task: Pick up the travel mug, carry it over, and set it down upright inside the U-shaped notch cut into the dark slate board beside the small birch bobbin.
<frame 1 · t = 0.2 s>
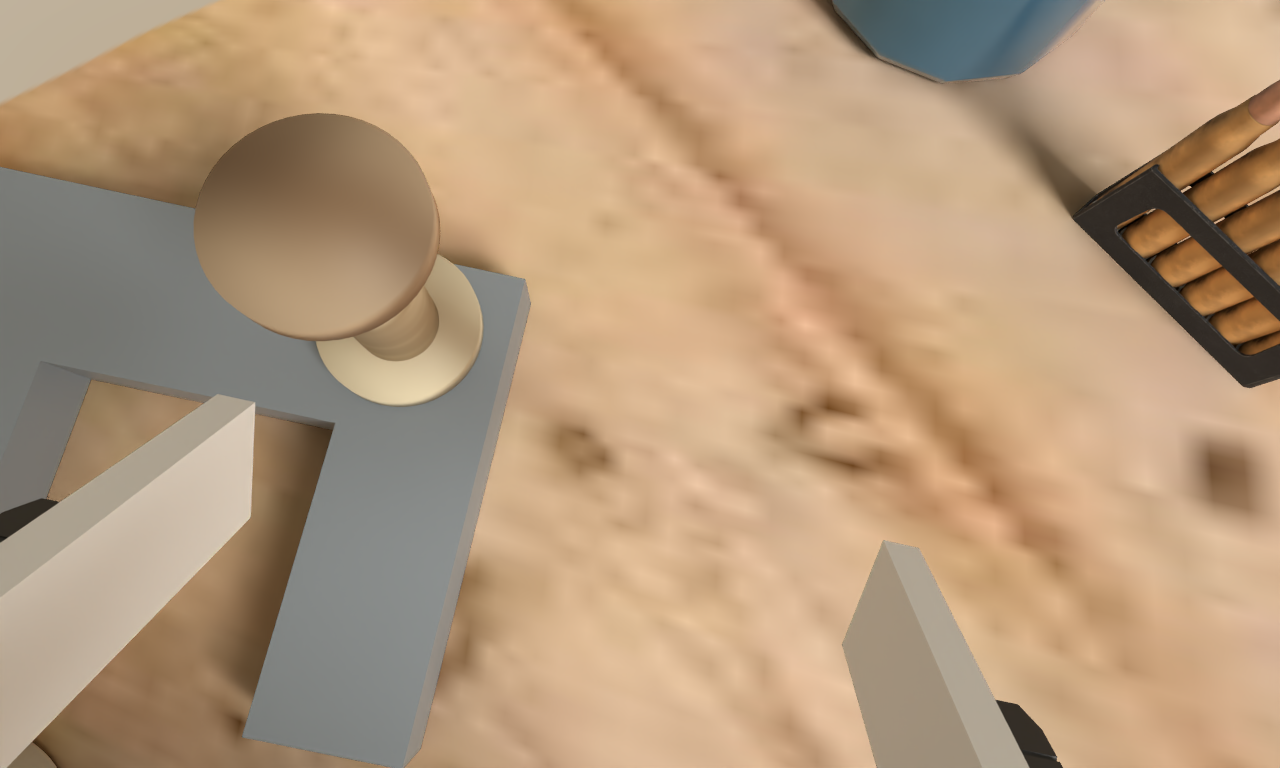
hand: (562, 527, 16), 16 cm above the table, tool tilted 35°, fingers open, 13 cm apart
ammunition clip: (1166, 291, 36), on the table
notched board: (209, 455, 31), on the table
birch bobbin: (404, 329, 30), resting on notched board
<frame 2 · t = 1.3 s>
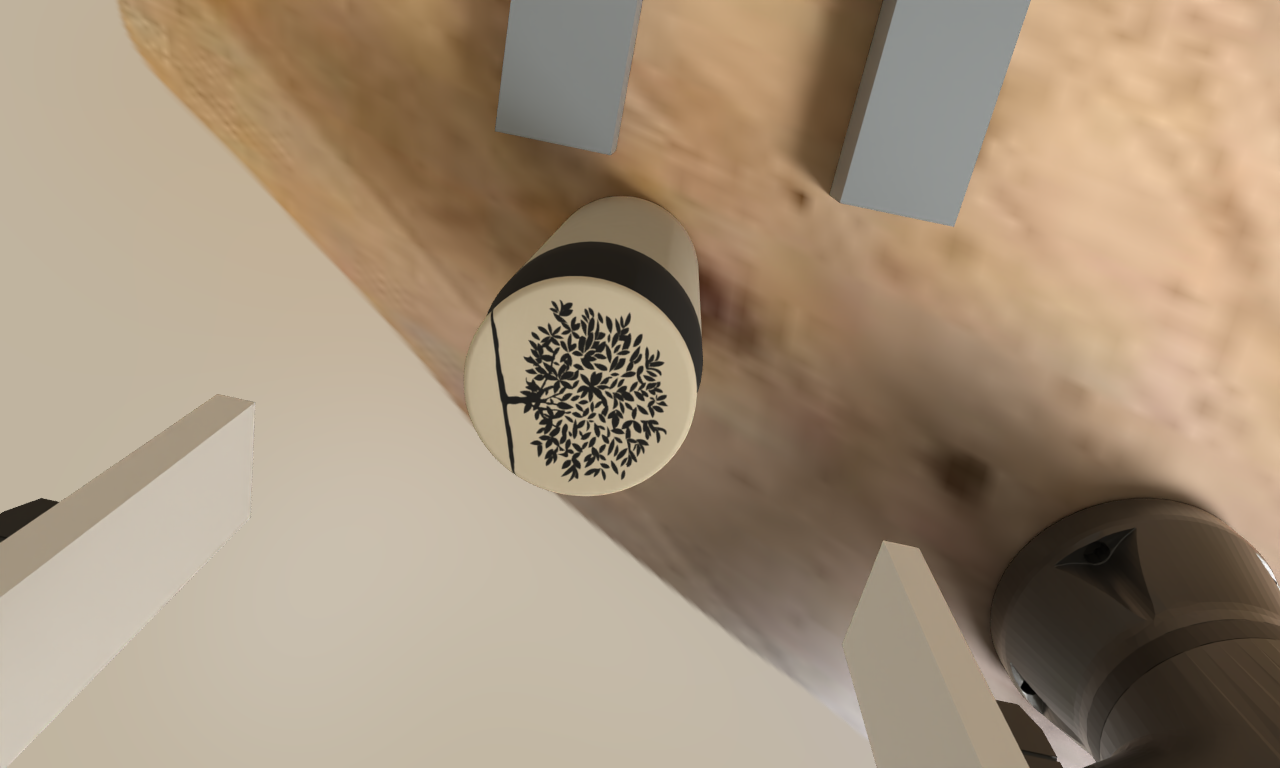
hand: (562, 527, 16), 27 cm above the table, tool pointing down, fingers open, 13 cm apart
travel mug: (623, 270, 42), on the table
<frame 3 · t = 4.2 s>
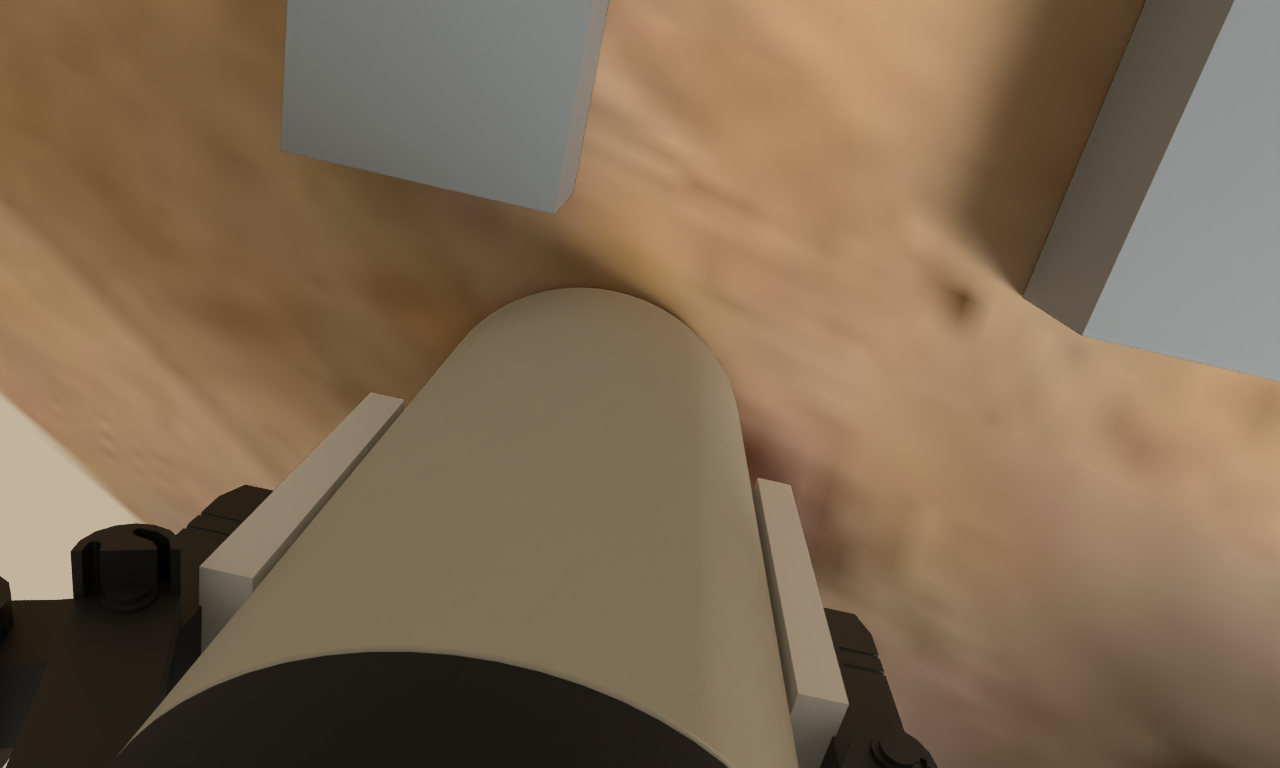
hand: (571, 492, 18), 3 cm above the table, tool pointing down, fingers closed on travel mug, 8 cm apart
travel mug: (587, 428, 21), on the table, touching gripper
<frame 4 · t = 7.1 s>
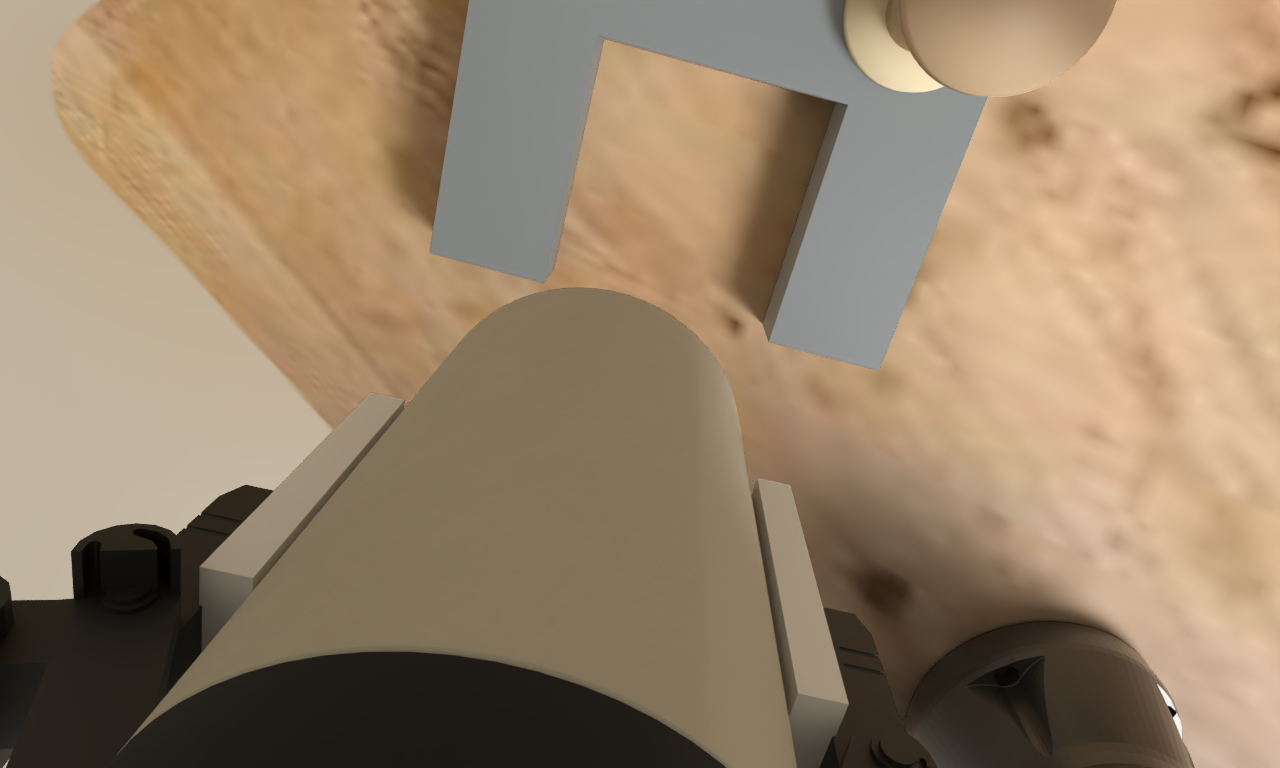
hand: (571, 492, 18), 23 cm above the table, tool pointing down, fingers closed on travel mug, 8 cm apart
travel mug: (587, 428, 21), point 20 cm above the table, touching gripper
notched board: (708, 115, 37), on the table
birch bobbin: (917, 13, 32), resting on notched board
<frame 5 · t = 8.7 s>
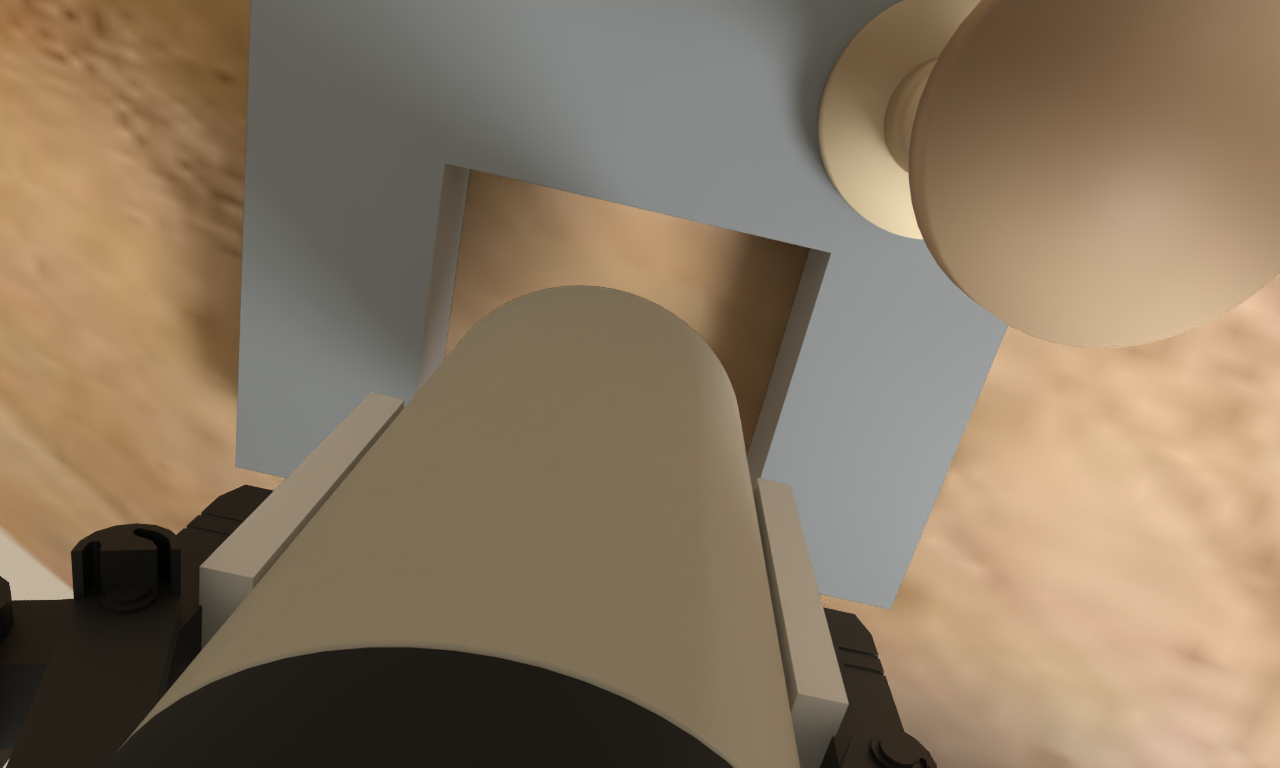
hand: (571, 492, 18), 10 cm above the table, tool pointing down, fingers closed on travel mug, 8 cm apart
travel mug: (588, 426, 21), point 6 cm above the table, touching gripper
notched board: (631, 255, 25), on the table
birch bobbin: (933, 118, 21), resting on notched board
when the fingers open (5 cm above the table, at t = 10.1 s): travel mug drops 2 cm, on the table.
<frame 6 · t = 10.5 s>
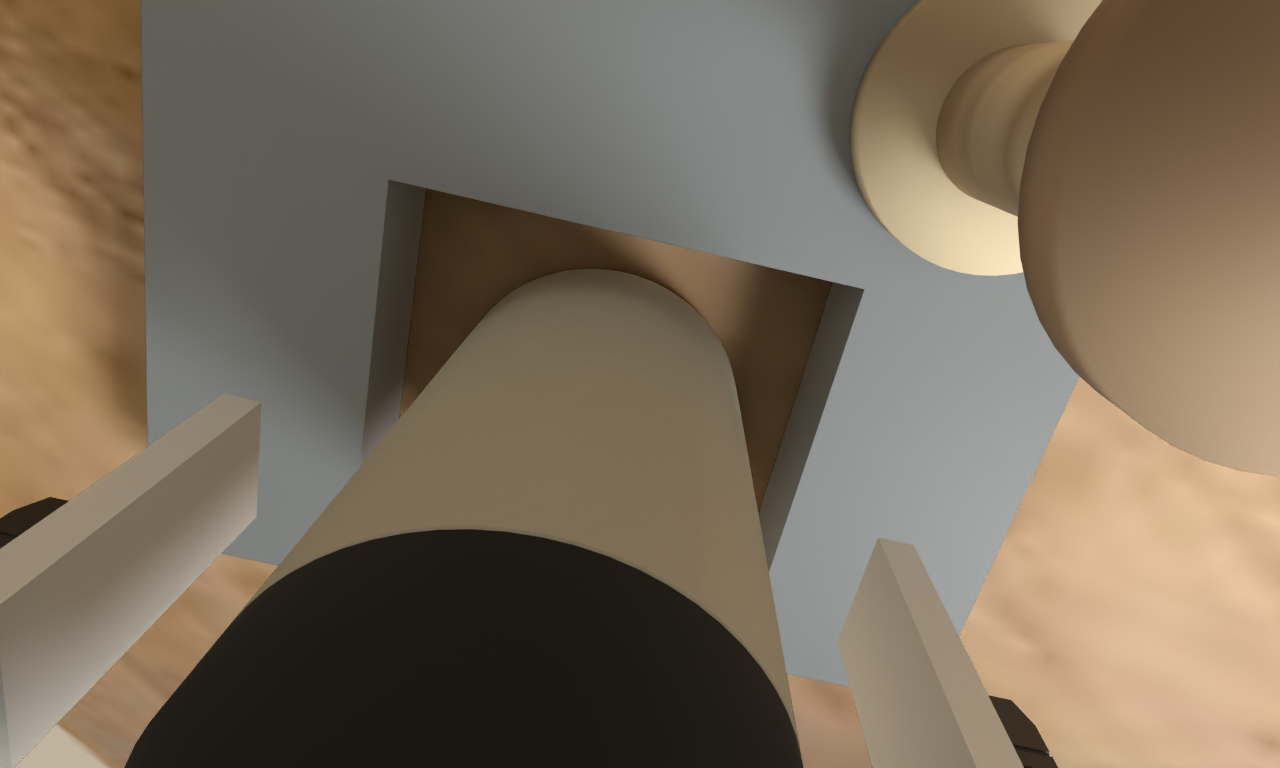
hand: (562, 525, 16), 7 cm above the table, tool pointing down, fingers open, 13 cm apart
travel mug: (597, 399, 23), on the table
notched board: (620, 286, 21), on the table
birch bobbin: (994, 124, 16), resting on notched board
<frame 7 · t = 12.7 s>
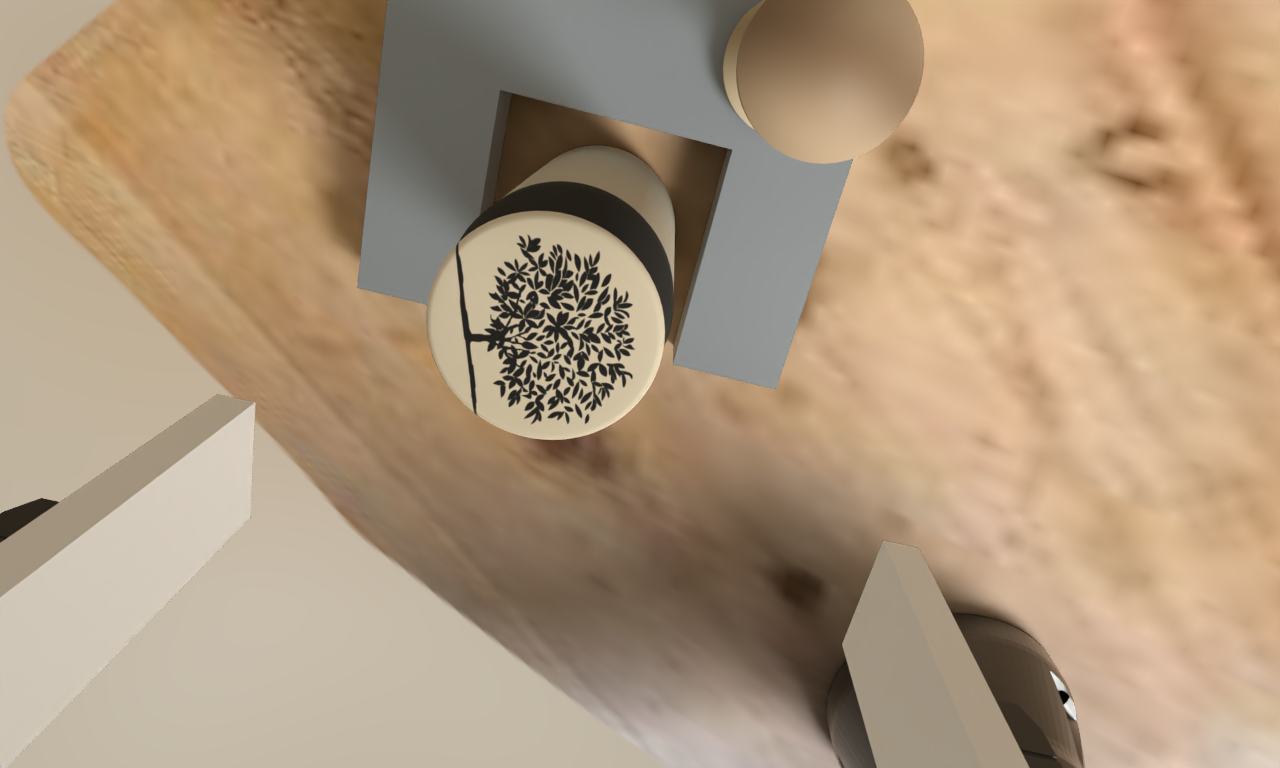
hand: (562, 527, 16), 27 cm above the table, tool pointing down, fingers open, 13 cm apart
travel mug: (599, 223, 41), on the table
notched board: (612, 156, 40), on the table
birch bobbin: (790, 67, 35), resting on notched board
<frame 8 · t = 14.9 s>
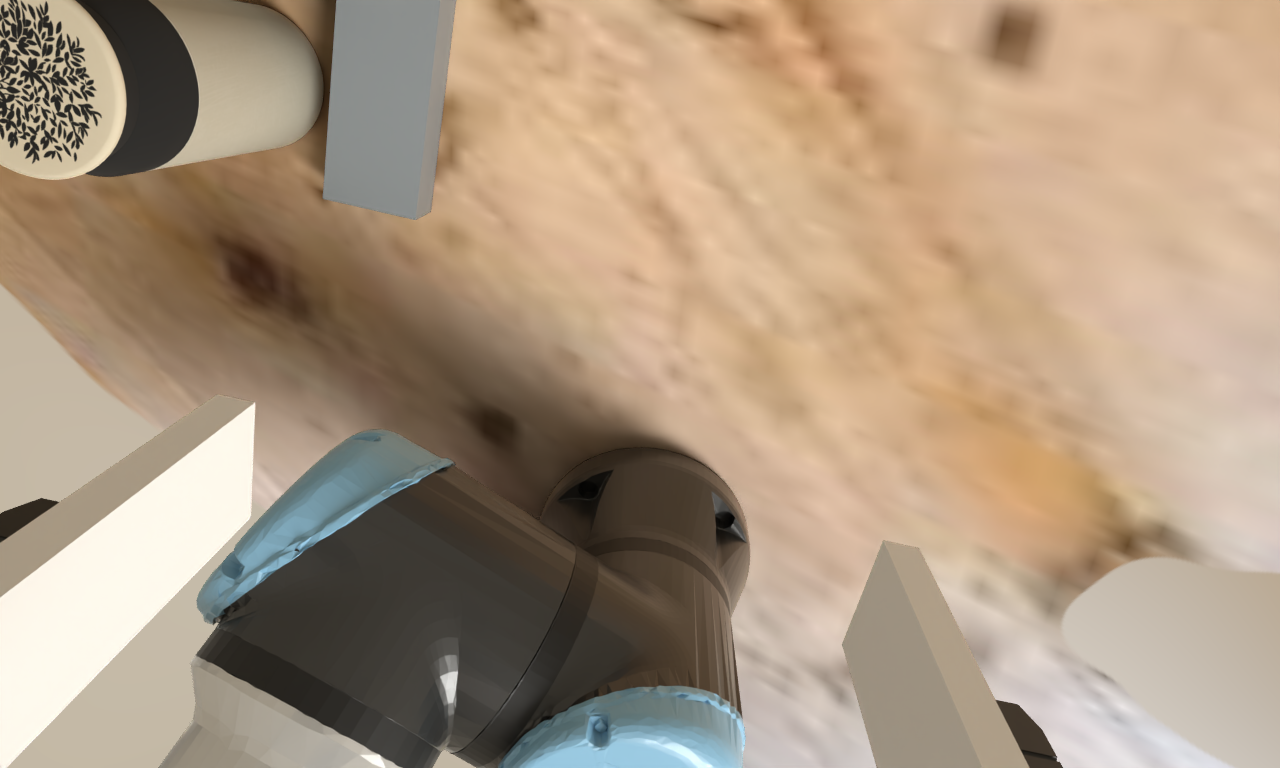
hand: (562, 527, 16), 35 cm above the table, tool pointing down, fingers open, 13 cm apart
travel mug: (261, 78, 47), on the table
notched board: (261, 14, 45), on the table
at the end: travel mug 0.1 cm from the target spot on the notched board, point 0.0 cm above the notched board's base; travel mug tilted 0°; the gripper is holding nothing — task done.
